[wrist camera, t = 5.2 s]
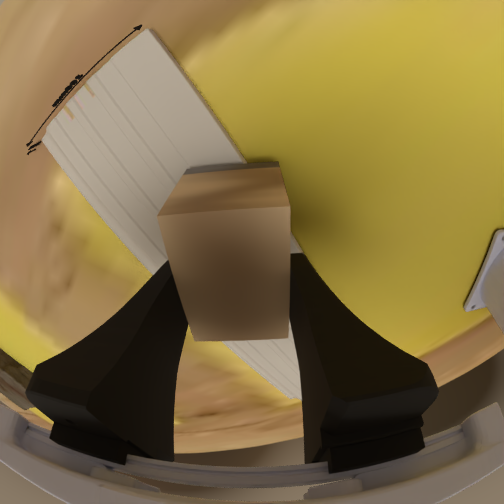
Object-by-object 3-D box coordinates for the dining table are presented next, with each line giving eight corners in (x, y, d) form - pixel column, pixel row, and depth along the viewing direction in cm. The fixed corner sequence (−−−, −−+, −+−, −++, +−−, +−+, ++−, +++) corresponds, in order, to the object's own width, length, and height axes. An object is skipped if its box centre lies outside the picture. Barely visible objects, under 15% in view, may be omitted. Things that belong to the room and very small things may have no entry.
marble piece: (67, 392, 31) (59, 415, 27) (47, 403, 36) (41, 421, 33) (-22, 324, 24) (-34, 346, 20) (-22, 351, 29) (-31, 368, 26)
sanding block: (278, 161, 12) (290, 206, 8) (281, 271, 15) (288, 338, 12) (186, 169, 12) (157, 216, 8) (206, 275, 15) (194, 341, 12)
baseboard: (277, 395, 27) (368, 363, 24) (278, 418, 25) (374, 388, 22) (37, 150, 13) (157, 30, 10) (9, 166, 10) (136, 21, 7)
